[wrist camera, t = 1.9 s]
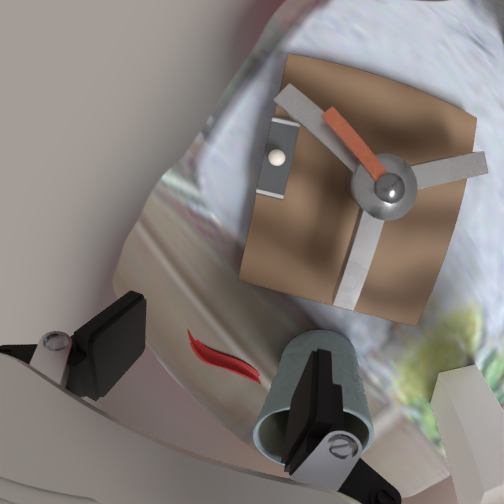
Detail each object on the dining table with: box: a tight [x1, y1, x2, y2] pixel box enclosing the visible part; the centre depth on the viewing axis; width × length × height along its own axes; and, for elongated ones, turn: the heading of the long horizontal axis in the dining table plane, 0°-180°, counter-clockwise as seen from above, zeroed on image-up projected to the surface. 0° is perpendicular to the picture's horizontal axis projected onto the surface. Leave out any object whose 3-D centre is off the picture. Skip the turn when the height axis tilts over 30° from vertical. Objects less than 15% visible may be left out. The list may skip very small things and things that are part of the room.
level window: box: [256, 116, 300, 201], centre depth 24 cm, size 7×2×1 cm, turn 167°
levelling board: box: [238, 54, 477, 326], centre depth 24 cm, size 22×19×2 cm
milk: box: [430, 364, 504, 504], centre depth 18 cm, size 6×6×22 cm
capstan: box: [273, 83, 488, 311], centre depth 21 cm, size 16×18×6 cm
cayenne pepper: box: [188, 330, 261, 384], centre depth 33 cm, size 12×5×2 cm, turn 43°
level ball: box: [268, 149, 285, 166], centre depth 23 cm, size 1×1×1 cm
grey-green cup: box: [253, 330, 374, 466], centre depth 25 cm, size 10×10×12 cm
